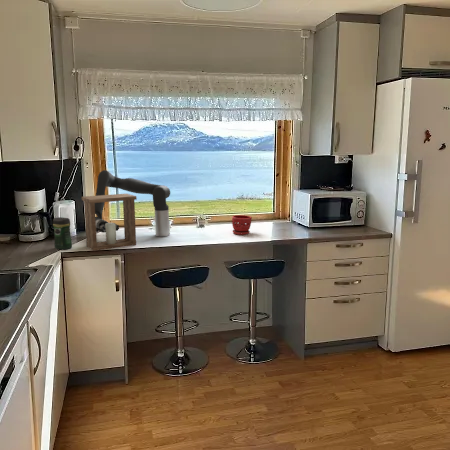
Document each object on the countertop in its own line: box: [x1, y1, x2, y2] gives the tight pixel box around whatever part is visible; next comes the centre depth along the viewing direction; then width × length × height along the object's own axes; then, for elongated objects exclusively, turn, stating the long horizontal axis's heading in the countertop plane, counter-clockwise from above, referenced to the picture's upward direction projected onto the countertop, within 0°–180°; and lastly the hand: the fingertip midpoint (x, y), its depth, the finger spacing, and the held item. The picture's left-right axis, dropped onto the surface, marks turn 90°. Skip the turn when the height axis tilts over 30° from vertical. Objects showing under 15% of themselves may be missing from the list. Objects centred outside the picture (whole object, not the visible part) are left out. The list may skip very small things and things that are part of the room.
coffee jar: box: [52, 216, 73, 250], centre depth 255 cm, size 10×8×19 cm
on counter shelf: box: [81, 193, 138, 252], centre depth 260 cm, size 16×28×30 cm, turn 124°
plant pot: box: [231, 214, 252, 236], centre depth 295 cm, size 13×13×12 cm
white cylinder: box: [105, 222, 117, 244], centre depth 262 cm, size 6×6×12 cm
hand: (110, 229), depth 262 cm, fingers open, 8 cm apart
